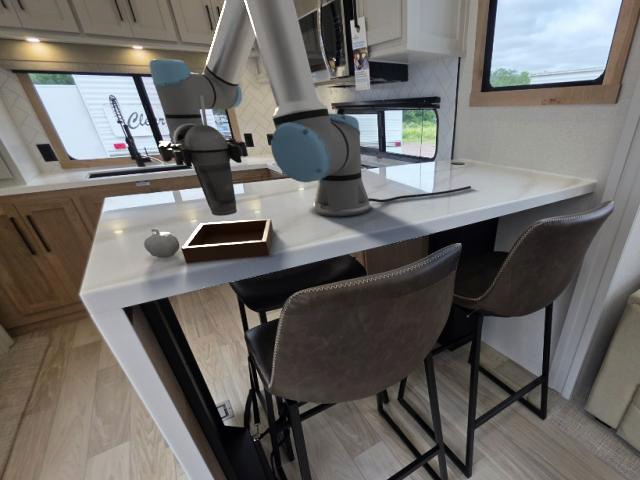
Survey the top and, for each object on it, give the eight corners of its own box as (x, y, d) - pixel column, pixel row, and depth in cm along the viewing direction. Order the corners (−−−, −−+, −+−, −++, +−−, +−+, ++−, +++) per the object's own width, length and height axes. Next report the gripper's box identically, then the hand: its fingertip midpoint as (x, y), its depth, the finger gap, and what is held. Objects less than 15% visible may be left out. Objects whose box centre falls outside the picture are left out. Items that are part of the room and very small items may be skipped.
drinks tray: (273, 231, 76) (270, 218, 75) (269, 255, 64) (266, 241, 63) (204, 236, 73) (200, 223, 71) (186, 263, 61) (180, 248, 59)
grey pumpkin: (148, 253, 65) (138, 228, 62) (180, 247, 67) (171, 222, 65) (151, 264, 60) (139, 237, 58) (184, 257, 63) (175, 231, 61)
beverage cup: (204, 209, 67) (169, 94, 57) (242, 205, 70) (216, 95, 60) (204, 219, 62) (166, 94, 51) (246, 215, 65) (217, 95, 54)
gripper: (246, 158, 80) (276, 173, 64) (147, 165, 70) (152, 185, 54) (239, 123, 76) (268, 130, 60) (132, 125, 66) (133, 134, 50)
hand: (213, 156), depth 57 cm, fingers closed on beverage cup, 7 cm apart
